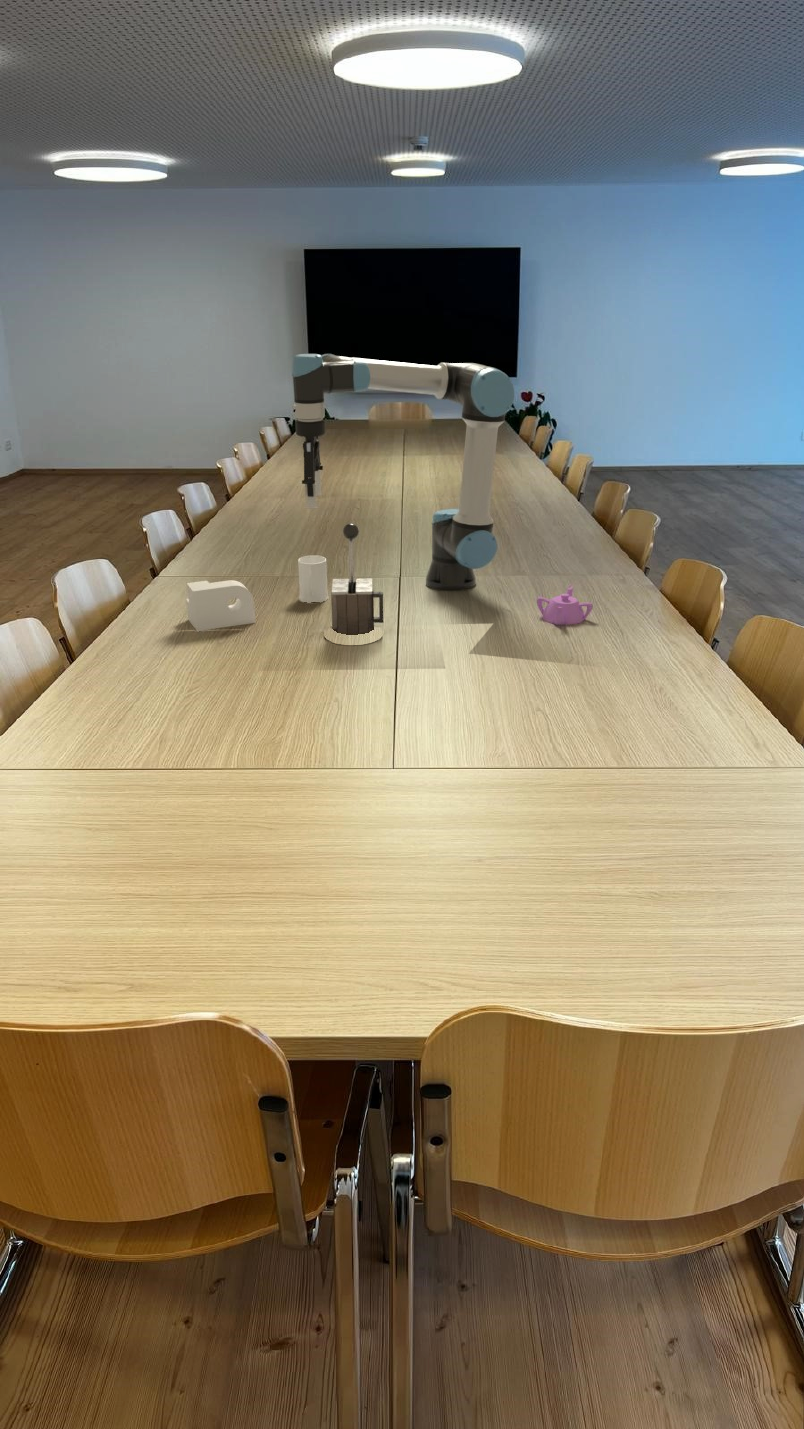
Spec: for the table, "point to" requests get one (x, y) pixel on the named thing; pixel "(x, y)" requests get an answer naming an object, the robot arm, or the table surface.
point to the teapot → (563, 609)
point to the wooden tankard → (354, 606)
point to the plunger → (351, 549)
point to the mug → (312, 579)
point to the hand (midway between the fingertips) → (313, 501)
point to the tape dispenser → (219, 605)
